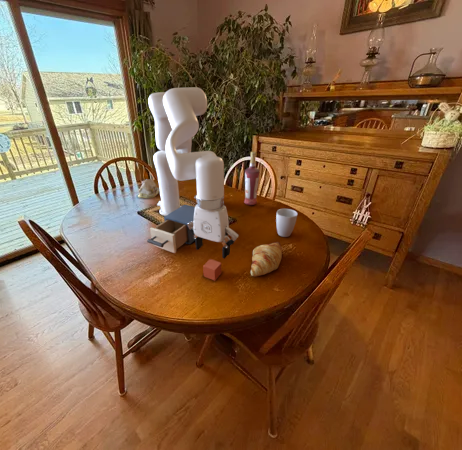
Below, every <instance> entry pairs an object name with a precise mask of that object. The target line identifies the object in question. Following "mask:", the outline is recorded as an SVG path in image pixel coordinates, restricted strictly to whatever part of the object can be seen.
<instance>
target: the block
mask: <svg viewBox="0 0 462 450" xmlns="http://www.w3.org/2000/svg"><path fill="white" fill-rule="evenodd" d="M202 270H203V271H202V272H203V277H204V278H207V279H209V280H211V281H214V282H215V281H216V280H217V279H218V278H219V277H220V276H221V274H222V262H220V261H217V260H215V259H212V258H209V259H208V260H207V262H205V264H203V266H202Z"/></svg>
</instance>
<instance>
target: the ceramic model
mask: <svg viewBox="0 0 462 450" xmlns="http://www.w3.org/2000/svg"><path fill="white" fill-rule="evenodd" d="M138 192H139V194H138V195H137V198H139V199H152V198H155V197H156V196H157V195H158V194H160V189H159V187H157V184H156V183H155V181H154V180H152V179H151V178H149V179H148V178H146V179H145V180H144V182H143V183H142V185H141V186H140V188H139V189H138Z"/></svg>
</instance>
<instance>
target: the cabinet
mask: <svg viewBox="0 0 462 450" xmlns="http://www.w3.org/2000/svg"><path fill="white" fill-rule="evenodd" d="M180 206H181V207H180V208H178V209H176V210H175V211H173V212H171V213H170V214H168V215H166V216H163V219H164V221H166V220H167V219H168V220H171V221H175V222H178V223H182V224H186V225H187V224H188V223H189V222H191V221H194V211H195V206H193V205H189V204H183V205H180ZM187 231H188V241H186V242H185V243H184V244H188V245H191V244H192V243H194V242H195V239H194V238H193V234H192V233H191V232H190V229H189V227H188V225H187Z"/></svg>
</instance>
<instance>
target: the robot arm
mask: <svg viewBox="0 0 462 450" xmlns="http://www.w3.org/2000/svg"><path fill="white" fill-rule="evenodd" d="M147 100H148V107H149V110H150V112H151V114H152V117H153V119H154V132H155V133H154V134H155V145H156V147H157V149H158V150H157V151H156V152H155V153H154V154H153V160H152V161H153V164H154V168H155V171H156V176H157V181H158V188H159V189H160V191H159V196H160V200H158V203H157V204H156V206H157V207H160V209H159V214H160V215H161V216H163V217H165V216H166V215H168V214H170V213H171V212H173V211H175V210H176V209H178V208H180V207H181V206H182V205H181V203H180V202H181V201H180V190H179V181H180V182H183V181H189V180H195V182H196V194H195V195H194V197H193V198H194V200H196V204H195V206H194V207H195V211H194V221H191V222H189V223H188V224H187V225H188V227H189V229H190V232H191V233H192V234H193V238H194V239H195V240H194V242H195V243H194V244H195V250H196V251H199V250H200V249H201V248H203V246H204V239H205V240H208V241H211V242H216V243H220V244H222V246H223V247H222V250H221V251H222V252H221V253H222V255H221V257H222V259H224V260H225V259H226V258H227V257H229V256H230V254H231V246H232V245H233V244H234V243H235V242H236V241H237V240H238V238H239V237H240V236H239V234H238V233H237V232H236V231H235V230H234V229H232V228H230V224H229V223H230V222H229V215H228V210H227V206H226V205H225V162H224V160H223V158H222V157H220V156H217V154H216V153H215V152H214V151H212V150H202V151H192V145H193V143H192V138H193V137H195V135H196V134H197V133H198V131H199V128H200V124H199V120H198V116H199V117H200V116H202V115H204V114H205V113H206V111H207V108H208V98H207V95H206V93H205V92H204V90H203V89H202V88H201V87H196V86H195V87H191V86H190V87H173V88H169V89H168V90H167V91H161V92H152V93H151V94H149V97H148V99H147ZM229 236H230V237H231V238H230V237H229Z"/></svg>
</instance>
